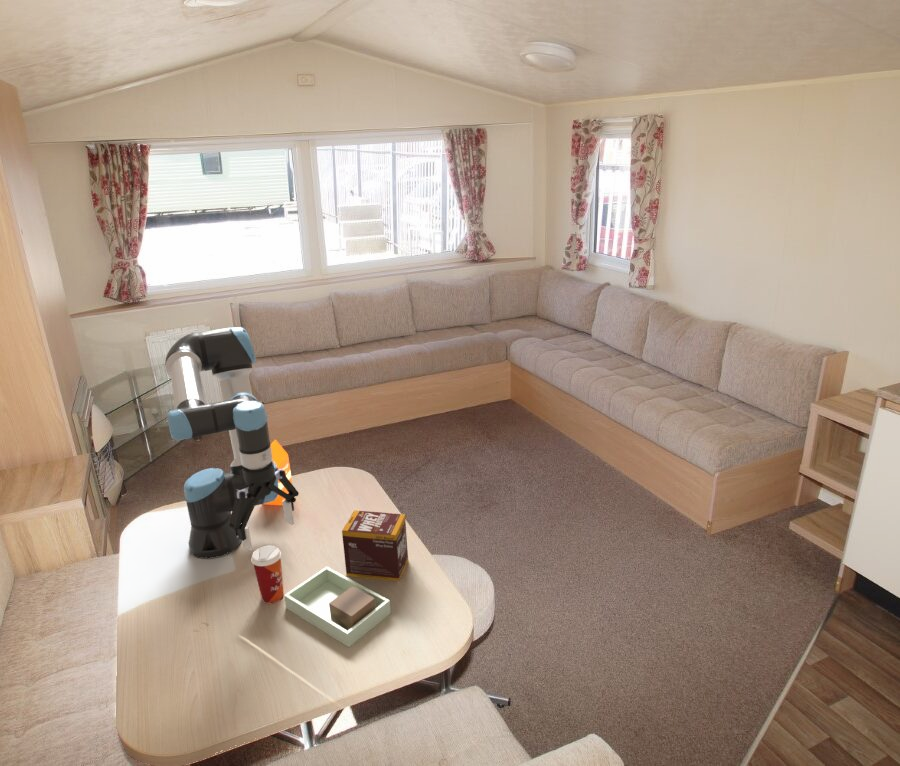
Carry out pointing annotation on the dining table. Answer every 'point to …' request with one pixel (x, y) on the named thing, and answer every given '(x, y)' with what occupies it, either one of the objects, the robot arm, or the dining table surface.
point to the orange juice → (282, 463)
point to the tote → (314, 607)
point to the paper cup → (268, 573)
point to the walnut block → (351, 607)
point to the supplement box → (375, 545)
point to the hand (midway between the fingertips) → (269, 535)
